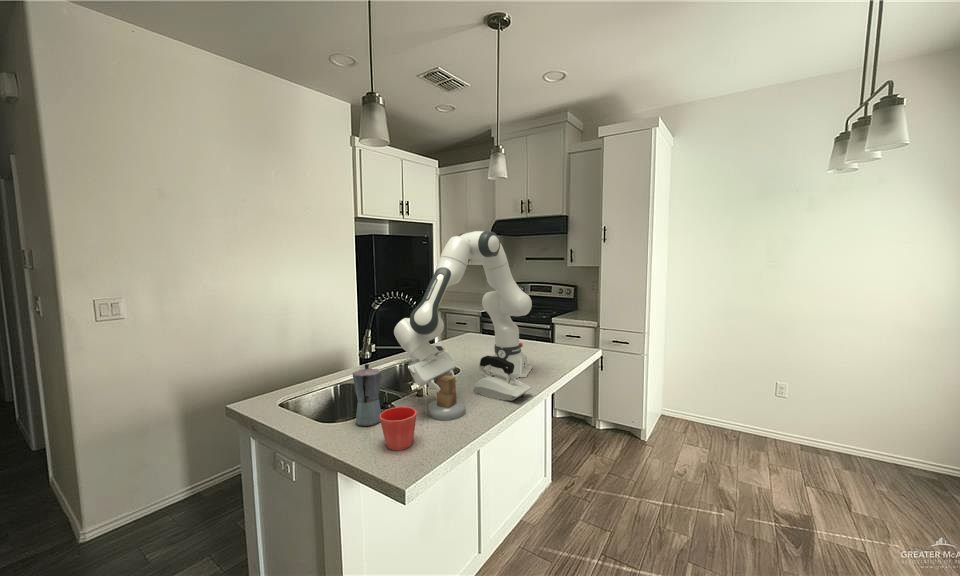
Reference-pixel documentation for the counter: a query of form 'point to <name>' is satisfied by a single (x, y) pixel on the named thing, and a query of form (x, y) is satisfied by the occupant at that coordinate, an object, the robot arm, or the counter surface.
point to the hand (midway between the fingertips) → (447, 386)
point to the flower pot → (398, 427)
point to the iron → (500, 380)
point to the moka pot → (367, 395)
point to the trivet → (447, 411)
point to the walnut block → (446, 391)
